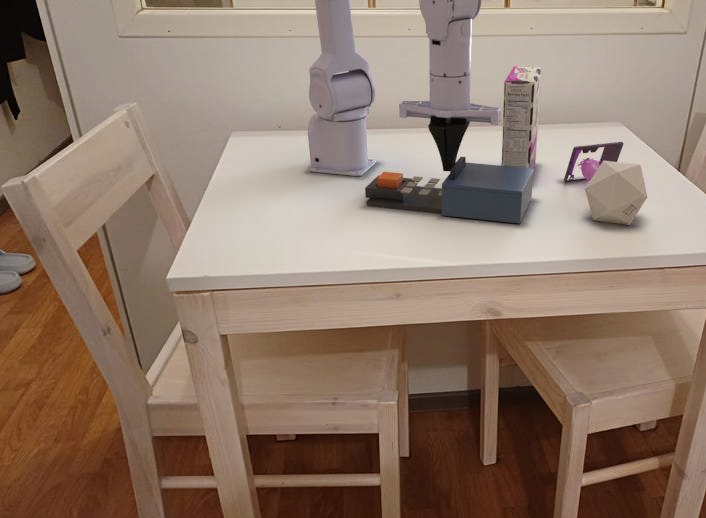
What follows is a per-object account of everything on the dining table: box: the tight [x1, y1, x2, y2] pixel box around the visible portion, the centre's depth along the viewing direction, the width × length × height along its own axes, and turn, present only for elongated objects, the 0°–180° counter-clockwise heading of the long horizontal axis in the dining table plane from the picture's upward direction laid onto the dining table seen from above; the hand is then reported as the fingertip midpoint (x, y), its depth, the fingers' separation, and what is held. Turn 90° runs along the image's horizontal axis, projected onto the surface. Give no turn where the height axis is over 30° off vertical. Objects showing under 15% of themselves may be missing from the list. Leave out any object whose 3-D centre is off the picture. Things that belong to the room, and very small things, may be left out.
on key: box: [377, 171, 404, 188], centre depth 111 cm, size 3×3×2 cm
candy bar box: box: [501, 65, 542, 170], centre depth 118 cm, size 11×5×16 cm, turn 168°
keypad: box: [401, 176, 442, 196], centre depth 109 cm, size 8×7×1 cm
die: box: [584, 161, 648, 226], centre depth 104 cm, size 8×9×10 cm
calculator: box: [364, 174, 442, 215], centre depth 110 cm, size 16×9×2 cm, turn 75°
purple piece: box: [563, 141, 625, 183], centre depth 117 cm, size 7×5×9 cm
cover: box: [441, 156, 535, 224], centre depth 107 cm, size 12×10×6 cm
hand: (449, 169), depth 107 cm, fingers closed
